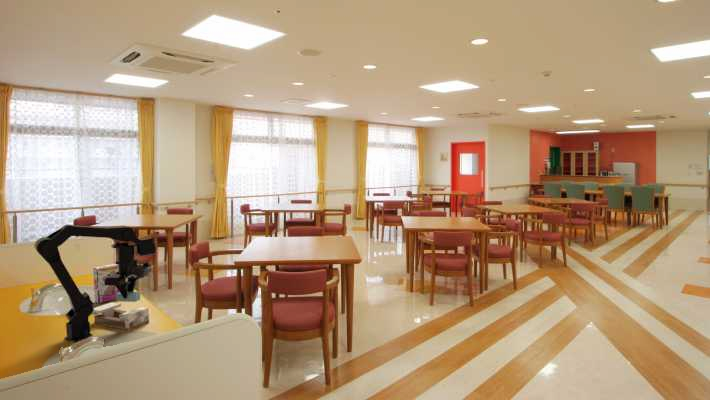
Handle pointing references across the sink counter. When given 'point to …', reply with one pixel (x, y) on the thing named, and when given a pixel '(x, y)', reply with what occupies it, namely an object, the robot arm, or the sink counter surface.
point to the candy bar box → (100, 289)
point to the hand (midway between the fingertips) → (128, 297)
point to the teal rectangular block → (128, 297)
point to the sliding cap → (106, 309)
